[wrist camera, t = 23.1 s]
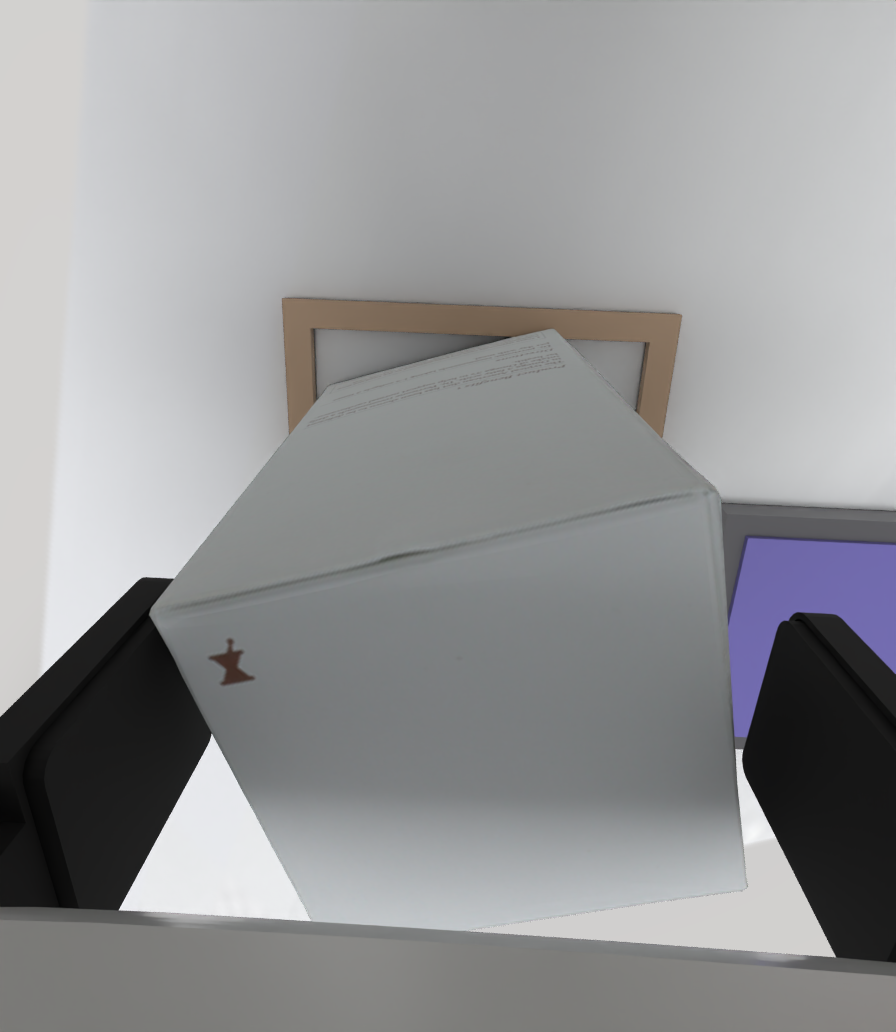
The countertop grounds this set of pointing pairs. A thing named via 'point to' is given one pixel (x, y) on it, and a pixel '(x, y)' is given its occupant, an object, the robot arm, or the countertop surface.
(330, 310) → the tan picture frame
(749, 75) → the countertop surface
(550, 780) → the supplement box
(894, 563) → the ink pad
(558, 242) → the countertop surface
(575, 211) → the countertop surface
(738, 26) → the countertop surface
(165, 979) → the robot arm
